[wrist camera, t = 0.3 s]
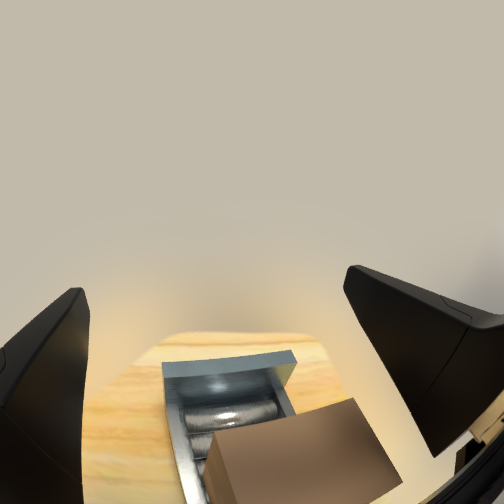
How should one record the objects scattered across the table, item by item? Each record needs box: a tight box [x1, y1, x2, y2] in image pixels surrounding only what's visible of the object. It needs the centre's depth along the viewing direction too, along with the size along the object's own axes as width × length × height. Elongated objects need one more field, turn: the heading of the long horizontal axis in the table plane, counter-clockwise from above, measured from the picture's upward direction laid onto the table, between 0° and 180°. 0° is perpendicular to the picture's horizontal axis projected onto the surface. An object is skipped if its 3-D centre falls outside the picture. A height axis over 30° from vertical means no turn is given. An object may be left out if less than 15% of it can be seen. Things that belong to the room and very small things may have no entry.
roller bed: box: [162, 350, 297, 504], centre depth 13 cm, size 17×9×6 cm, turn 18°
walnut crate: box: [202, 398, 403, 504], centre depth 10 cm, size 5×6×8 cm
